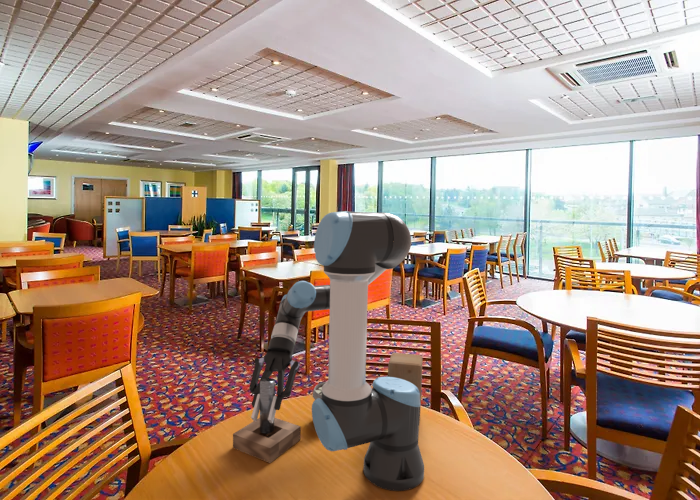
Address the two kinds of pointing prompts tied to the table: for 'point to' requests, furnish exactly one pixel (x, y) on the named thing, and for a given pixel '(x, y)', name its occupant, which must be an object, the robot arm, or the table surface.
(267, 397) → the peg
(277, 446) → the square block with hole
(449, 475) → the table surface
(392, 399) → the robot arm
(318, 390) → the food container
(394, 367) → the wooden block
